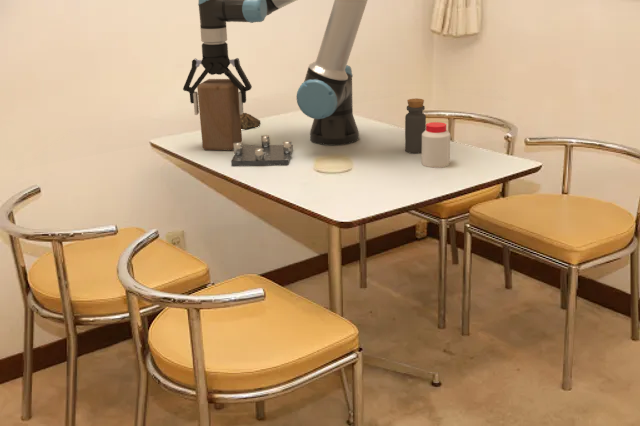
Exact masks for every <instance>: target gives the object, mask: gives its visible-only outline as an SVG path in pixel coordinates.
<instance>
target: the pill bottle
mask: <svg viewBox="0 0 640 426" xmlns="http://www.w3.org/2000/svg"><path fill="white" fill-rule="evenodd" d="M420 154H421V161H420V162H421V163H420V164H421V166H424V167H426V168H435V169H436V168H437V169H438V168H445V167H447V166H449V165H450V164H451V133H450V131H449V130H447V123H445V122H440V121H437V122H436V121H435V122H434V121H433V122H426V130H425V131H424V132H423V133H422V151H421V153H420Z"/></svg>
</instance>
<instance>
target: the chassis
mask: <svg viewBox="0 0 640 426" xmlns="http://www.w3.org/2000/svg"><path fill="white" fill-rule="evenodd" d="M260 139H261V140H260V141H261V145H260V144H259V145H255V144H254V145H243V144H242V142H234V143H233V146H234V150H233V154H234V155H233V157H232V159H231V161H230V162H231V164H230V165H231V167H258V166H259V167H260V166H263V167H264V166H267V167H268V166H289V164H290V161H291V158H292V155H293V151H294V145H293V144H292V143H293V142H292V141H291V140H285V141H283V142H282V144H271V143H270V139H271V138H270V135H267V134H263V135H261V136H260Z"/></svg>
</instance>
